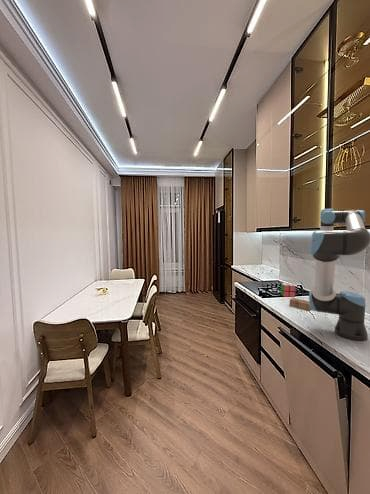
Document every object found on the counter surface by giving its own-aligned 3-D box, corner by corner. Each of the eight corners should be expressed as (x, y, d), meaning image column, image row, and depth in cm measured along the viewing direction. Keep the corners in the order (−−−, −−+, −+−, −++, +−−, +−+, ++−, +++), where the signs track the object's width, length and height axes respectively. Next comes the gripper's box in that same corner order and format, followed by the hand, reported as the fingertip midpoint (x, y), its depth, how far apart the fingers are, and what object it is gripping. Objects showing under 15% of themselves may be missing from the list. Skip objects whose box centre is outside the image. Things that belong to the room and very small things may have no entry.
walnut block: (289, 306, 182) (309, 311, 172) (289, 299, 182) (309, 304, 171) (293, 304, 187) (313, 308, 176) (293, 297, 187) (313, 302, 176)
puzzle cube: (295, 297, 206) (295, 285, 205) (282, 296, 207) (283, 285, 207) (292, 294, 215) (292, 283, 214) (280, 293, 217) (280, 282, 216)
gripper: (339, 233, 154) (338, 269, 156) (317, 232, 164) (316, 267, 165) (336, 233, 149) (334, 270, 151) (313, 233, 159) (312, 268, 160)
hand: (324, 268), depth 158 cm, fingers closed
